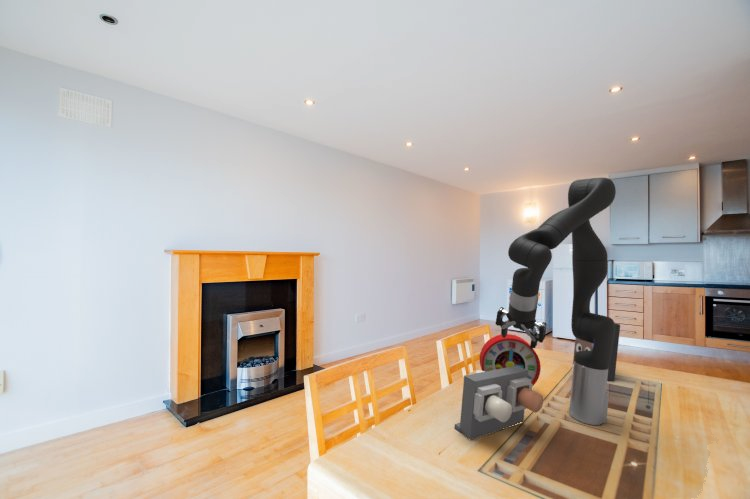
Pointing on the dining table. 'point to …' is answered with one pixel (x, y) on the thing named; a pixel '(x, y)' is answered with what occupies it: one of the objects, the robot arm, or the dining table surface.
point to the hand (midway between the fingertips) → (518, 341)
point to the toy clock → (510, 355)
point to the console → (480, 389)
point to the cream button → (498, 408)
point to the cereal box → (588, 346)
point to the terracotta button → (530, 399)
